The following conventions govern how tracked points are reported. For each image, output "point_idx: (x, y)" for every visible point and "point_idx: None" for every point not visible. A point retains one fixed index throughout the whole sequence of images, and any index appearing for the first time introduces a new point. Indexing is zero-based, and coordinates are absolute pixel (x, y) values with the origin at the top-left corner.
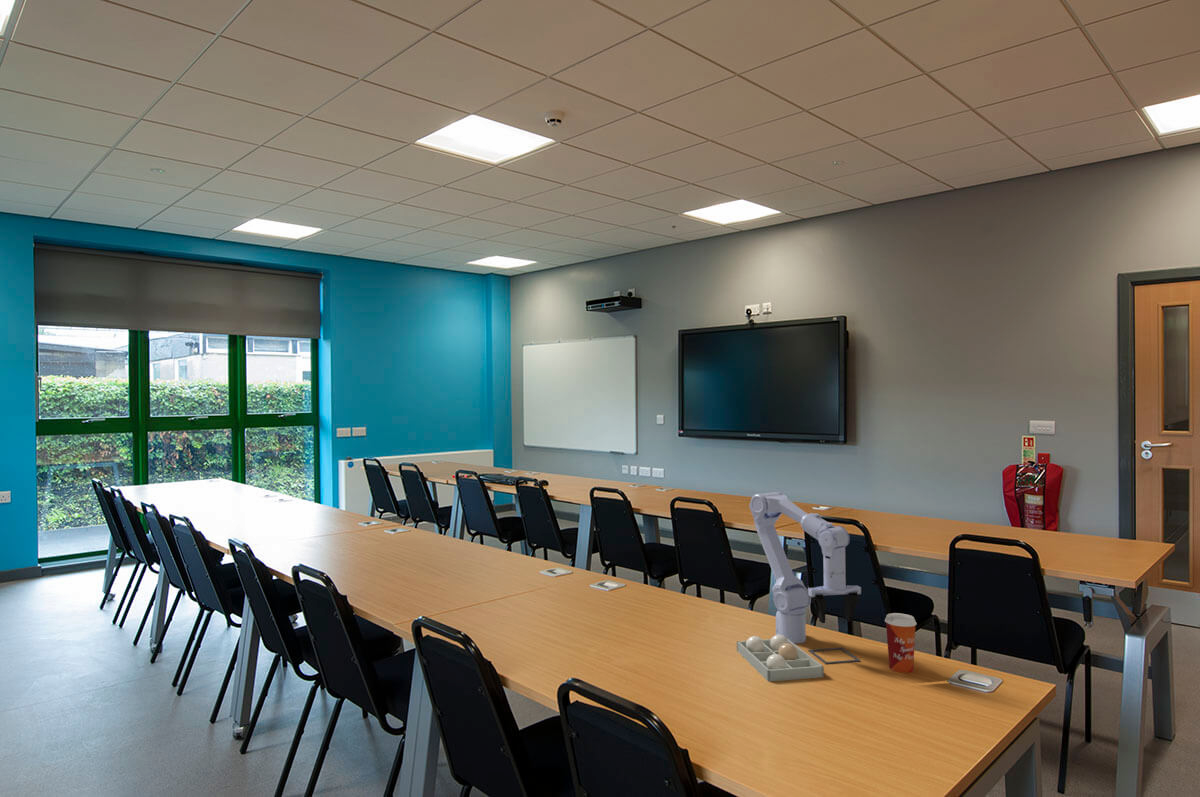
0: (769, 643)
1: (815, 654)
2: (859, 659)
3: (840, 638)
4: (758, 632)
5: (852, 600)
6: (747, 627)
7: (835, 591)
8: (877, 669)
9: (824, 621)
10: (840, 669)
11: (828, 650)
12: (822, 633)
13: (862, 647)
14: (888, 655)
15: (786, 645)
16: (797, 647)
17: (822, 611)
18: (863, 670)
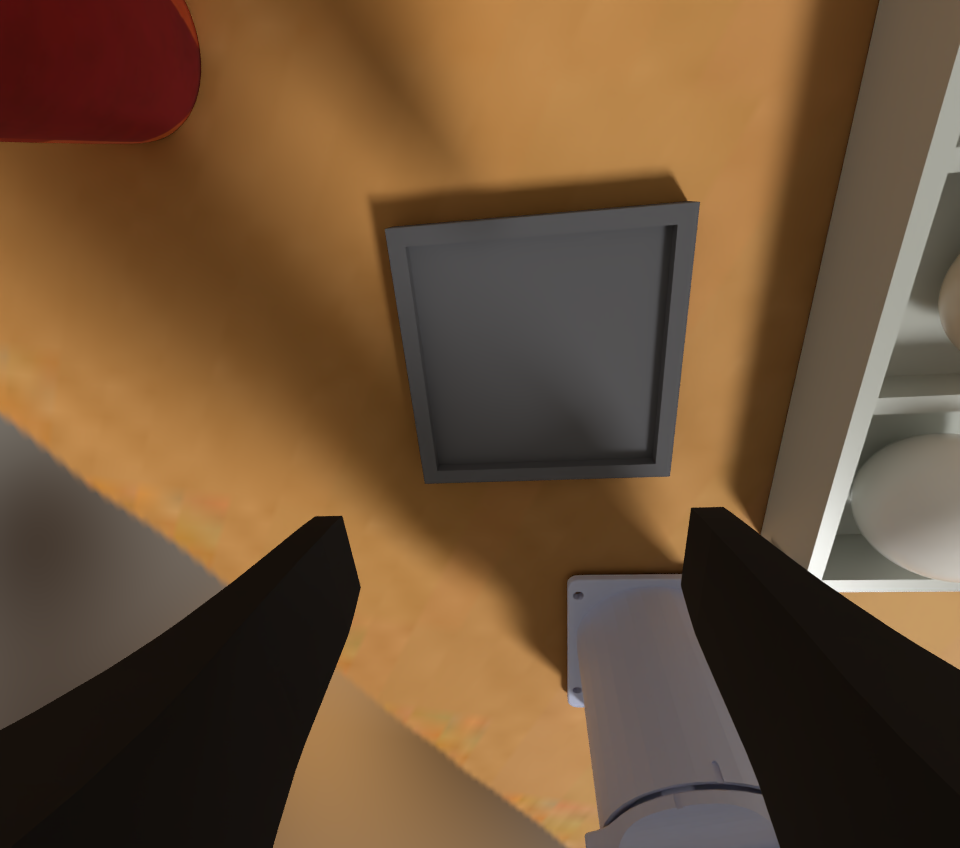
0: None
1: (671, 391)
2: (388, 247)
3: (363, 630)
4: None
5: (4, 840)
6: None
7: None
8: (298, 99)
9: (710, 518)
10: (595, 135)
11: (527, 463)
12: (430, 693)
13: (283, 508)
14: (124, 54)
15: None
16: (869, 406)
17: (871, 631)
18: (418, 88)
